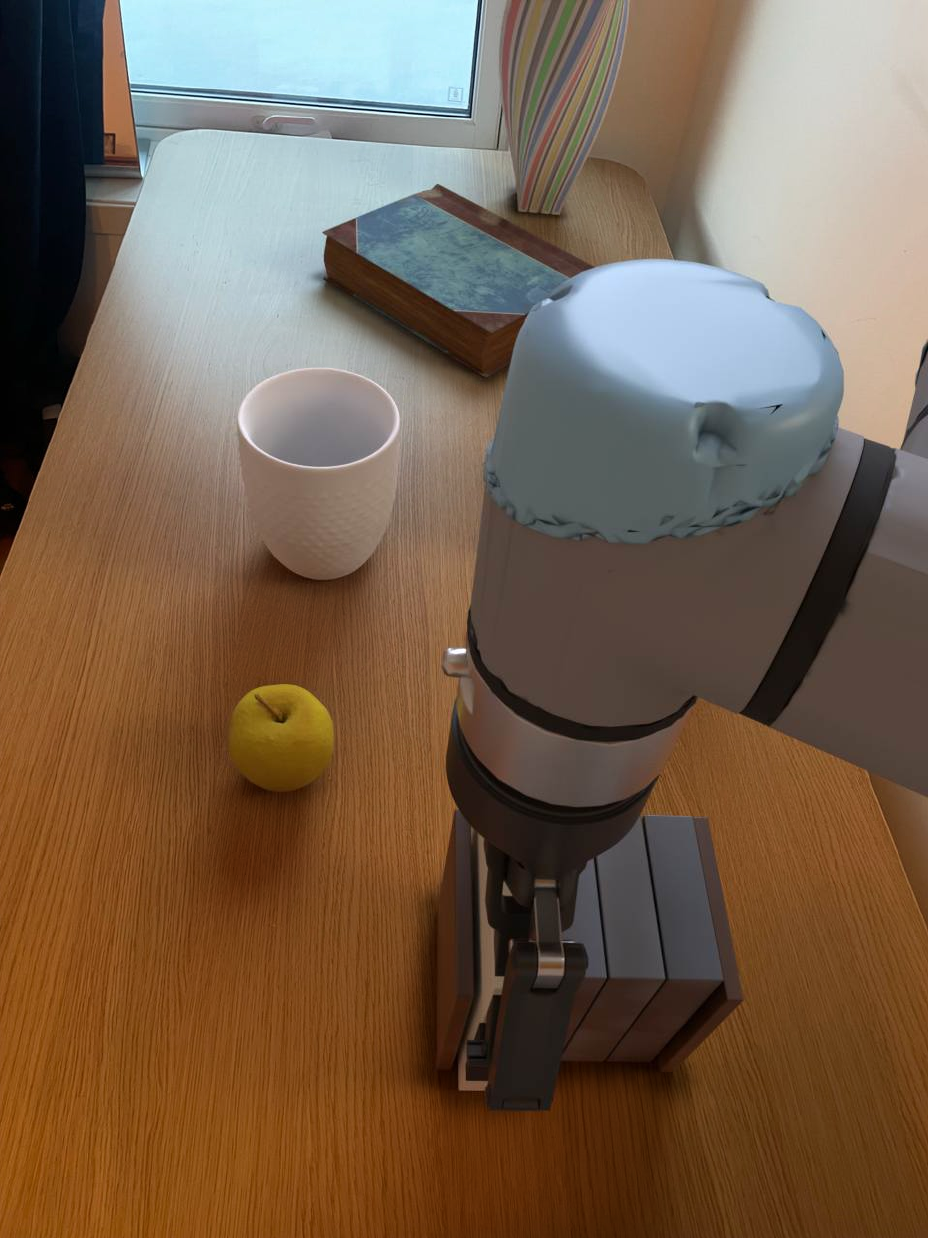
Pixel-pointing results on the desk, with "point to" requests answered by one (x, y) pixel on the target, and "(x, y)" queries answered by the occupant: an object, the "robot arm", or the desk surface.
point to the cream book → (479, 961)
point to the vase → (556, 89)
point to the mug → (319, 467)
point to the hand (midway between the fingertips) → (489, 951)
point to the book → (448, 273)
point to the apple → (280, 737)
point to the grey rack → (617, 946)
